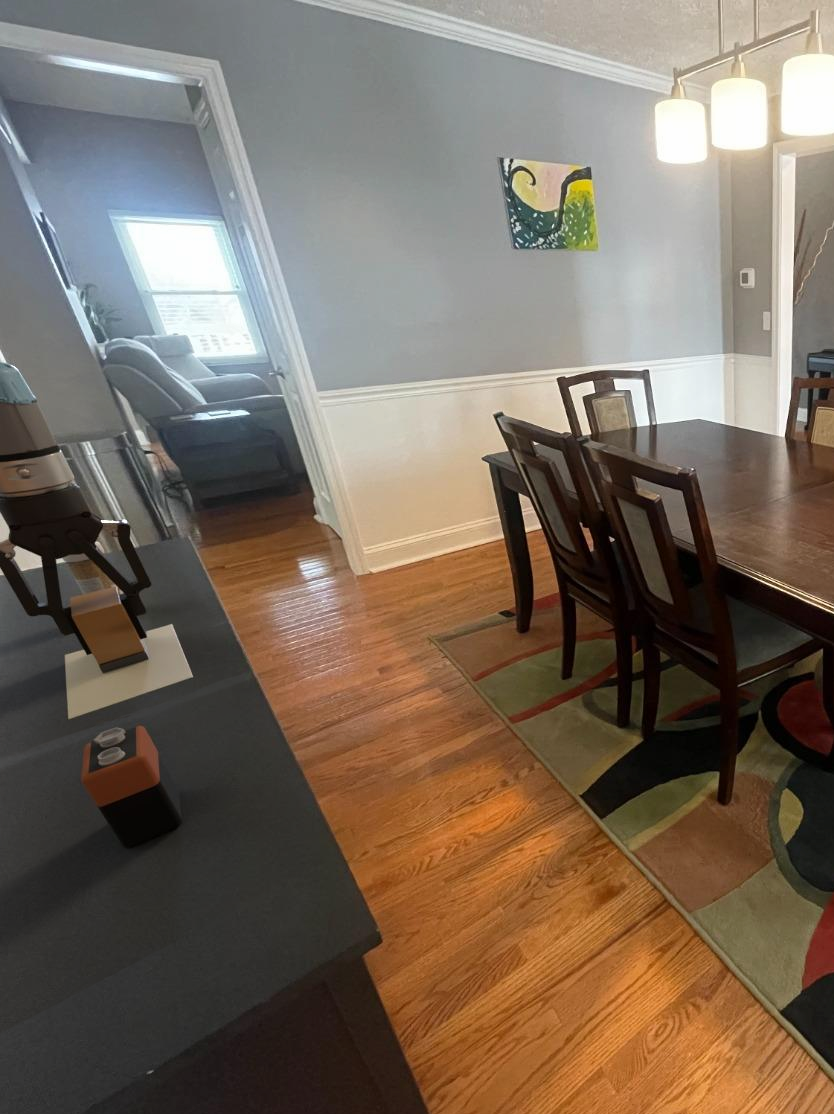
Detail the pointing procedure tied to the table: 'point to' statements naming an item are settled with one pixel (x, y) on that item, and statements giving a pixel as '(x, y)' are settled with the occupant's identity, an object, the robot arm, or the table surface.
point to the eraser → (107, 629)
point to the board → (124, 674)
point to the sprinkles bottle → (88, 573)
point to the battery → (131, 785)
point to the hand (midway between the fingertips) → (117, 642)
